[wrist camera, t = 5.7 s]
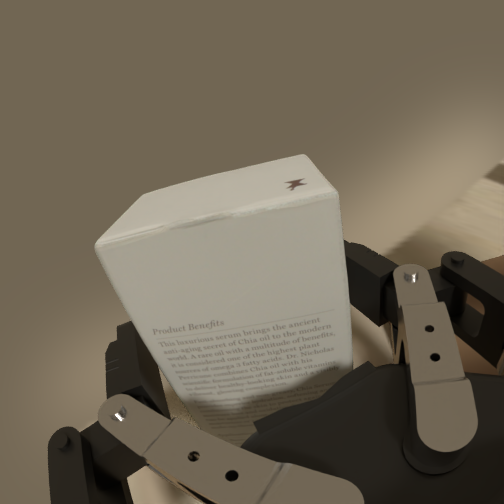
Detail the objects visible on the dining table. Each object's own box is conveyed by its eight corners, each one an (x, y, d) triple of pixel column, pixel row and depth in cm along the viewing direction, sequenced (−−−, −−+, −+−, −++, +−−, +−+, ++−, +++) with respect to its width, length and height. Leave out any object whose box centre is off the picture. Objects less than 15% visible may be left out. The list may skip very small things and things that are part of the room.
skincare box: (339, 382, 16) (311, 150, 10) (353, 450, 12) (345, 188, 6) (228, 399, 16) (140, 191, 11) (224, 466, 12) (85, 246, 7)
